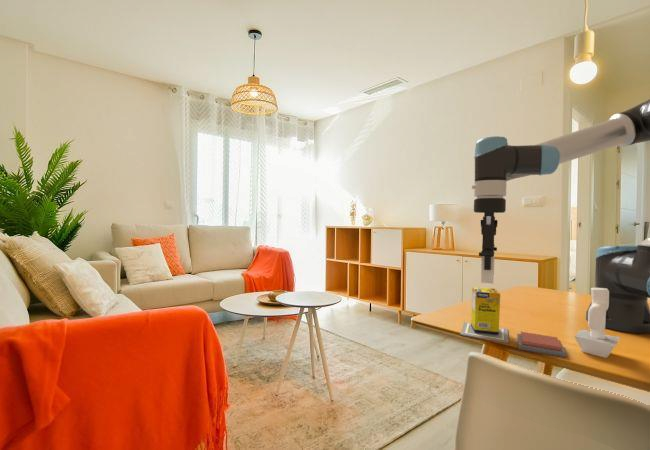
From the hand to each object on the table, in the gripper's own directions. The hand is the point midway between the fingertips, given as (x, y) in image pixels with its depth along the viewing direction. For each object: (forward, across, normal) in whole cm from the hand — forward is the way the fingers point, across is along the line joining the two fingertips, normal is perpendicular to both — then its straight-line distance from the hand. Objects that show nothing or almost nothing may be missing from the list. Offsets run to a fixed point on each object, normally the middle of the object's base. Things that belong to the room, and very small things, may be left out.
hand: (487, 278), depth 89 cm
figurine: (+15, +2, +23) cm, 27 cm away
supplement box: (+14, -1, -1) cm, 14 cm away
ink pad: (+15, +5, +12) cm, 19 cm away
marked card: (+14, 0, 0) cm, 15 cm away
